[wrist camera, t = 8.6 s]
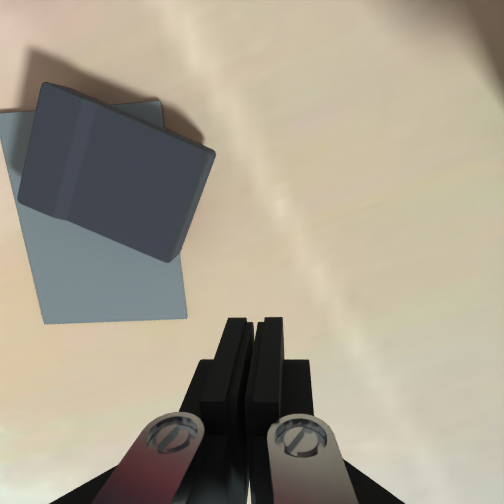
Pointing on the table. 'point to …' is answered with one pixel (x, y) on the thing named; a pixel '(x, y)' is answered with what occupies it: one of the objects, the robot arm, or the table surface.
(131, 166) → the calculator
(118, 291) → the mat
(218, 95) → the table surface
